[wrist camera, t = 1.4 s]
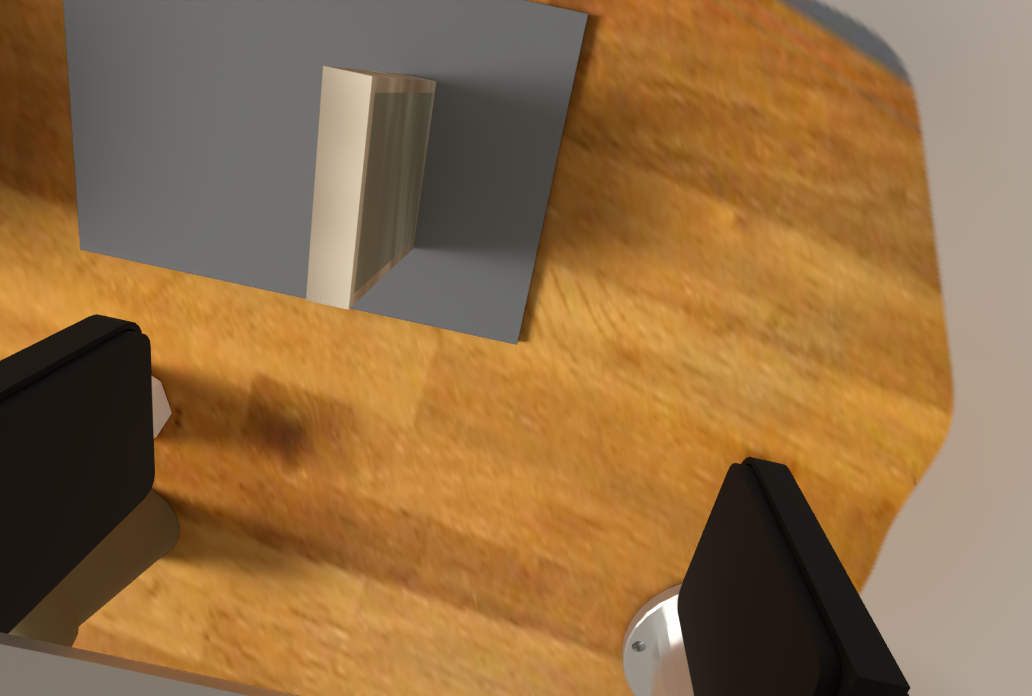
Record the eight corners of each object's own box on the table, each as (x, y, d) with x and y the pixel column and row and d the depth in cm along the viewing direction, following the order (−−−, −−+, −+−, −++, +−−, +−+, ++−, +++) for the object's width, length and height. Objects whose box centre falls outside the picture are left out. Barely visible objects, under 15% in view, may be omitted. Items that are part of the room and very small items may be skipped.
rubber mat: (587, 15, 28) (588, 14, 28) (517, 341, 34) (516, 344, 34) (64, -97, 29) (56, -100, 28) (87, 247, 35) (80, 249, 34)
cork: (114, 463, 40) (-44, 590, 30) (195, 519, 41) (69, 659, 31) (74, 520, 42) (-87, 657, 32) (153, 572, 43) (22, 720, 33)
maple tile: (436, 81, 29) (372, 76, 20) (413, 247, 33) (349, 309, 23) (402, 74, 29) (323, 65, 20) (383, 241, 33) (306, 300, 23)
